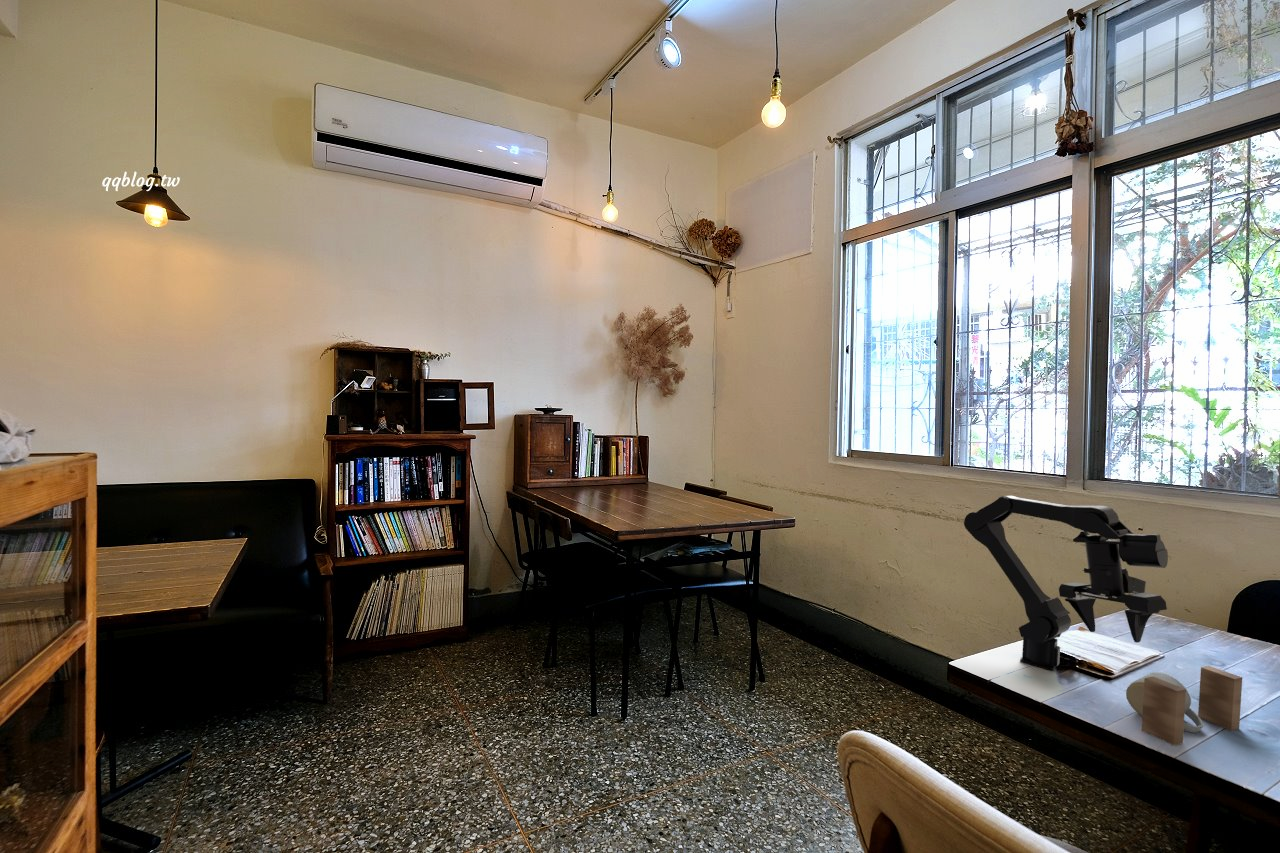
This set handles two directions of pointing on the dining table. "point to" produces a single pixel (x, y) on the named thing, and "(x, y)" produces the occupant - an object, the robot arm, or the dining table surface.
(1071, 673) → the dining table surface
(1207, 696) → the walnut bookends
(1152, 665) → the dining table surface
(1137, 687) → the ceramic mug
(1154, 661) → the dining table surface
